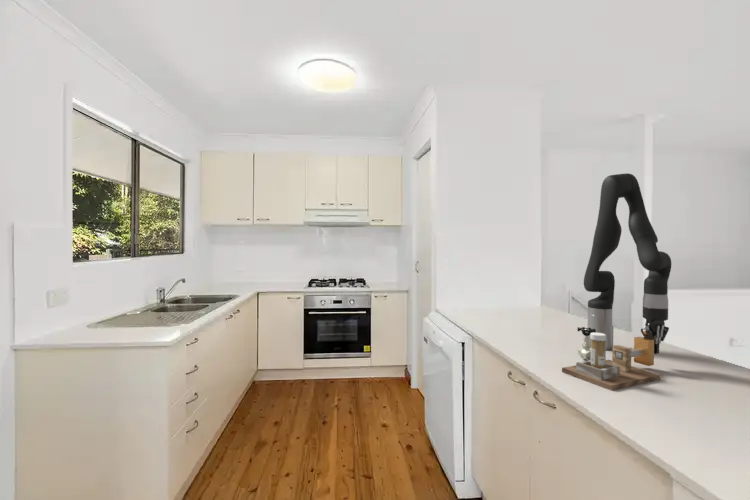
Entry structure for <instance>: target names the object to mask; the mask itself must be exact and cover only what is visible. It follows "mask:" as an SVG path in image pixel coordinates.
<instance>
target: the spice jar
mask: <svg viewBox="0 0 750 500" xmlns="http://www.w3.org/2000/svg"><path fill="white" fill-rule="evenodd" d="M590 338H591V348H590V351H591V366H592V367H595V368H598V369H603V368H605V364H606V360H607V359H606V352H607V351H606V350H605V342H606V335H605V334H603V333H591V334H590Z"/></svg>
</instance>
